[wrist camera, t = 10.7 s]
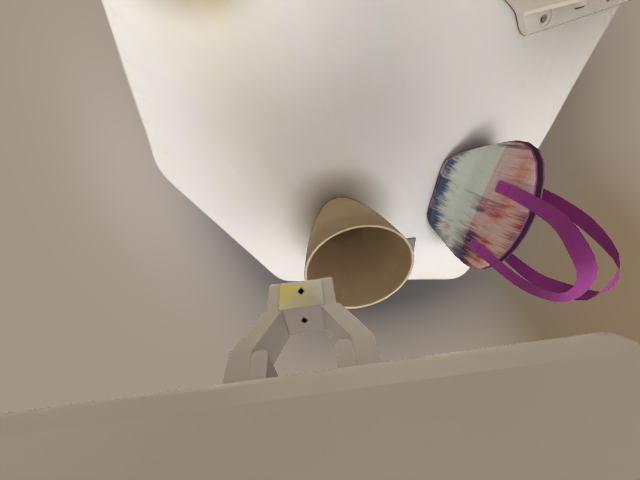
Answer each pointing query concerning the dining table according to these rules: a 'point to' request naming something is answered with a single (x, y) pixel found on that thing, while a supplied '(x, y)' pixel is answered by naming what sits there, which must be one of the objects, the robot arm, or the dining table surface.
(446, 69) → the dining table surface
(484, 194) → the handbag
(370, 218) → the plant pot
